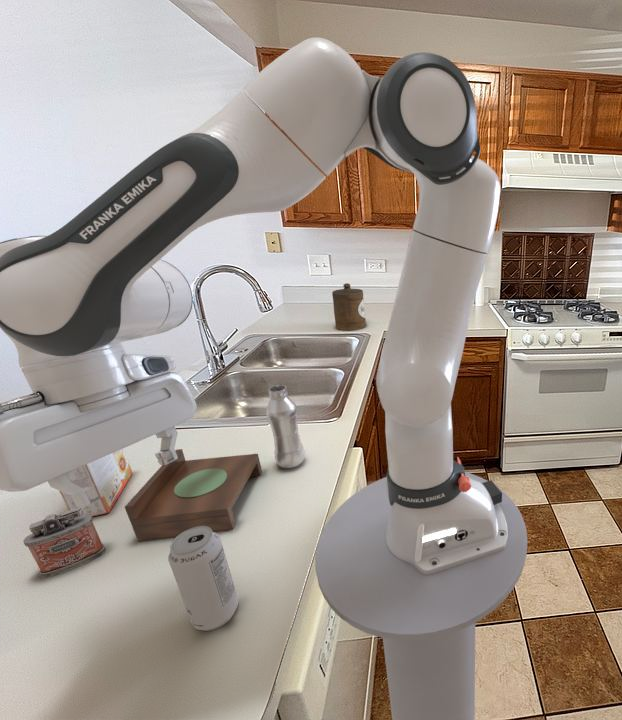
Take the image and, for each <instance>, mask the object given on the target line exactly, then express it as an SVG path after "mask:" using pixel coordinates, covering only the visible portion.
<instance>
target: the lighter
mask: <svg viewBox="0 0 622 720" xmlns="http://www.w3.org/2000/svg"><path fill="white" fill-rule="evenodd" d="M82 515H83V511H82V508H79V507H78V508H75V509H72V510H69V509H68V510H66V511H63V512H61V513H59V514H56V513H51V514H49V515H47V516H45V517H44V519H42V520H39V521H36V522H33V523H31V524H29V525H28V529H29V530H30V534H28V535H27V536H25V538H24V539H23V545H24V546H25V547H26V548H28V550H29V551H30V552H29V553H31V556H32V558H33V559H34V561H35V562H36V565H37V566H38V568H39V574H40V575H41V577H42V578H50V577H53V576H56V575H60V574H63V573H65V572H68V571H71V570H73V569H76V568H78V567H80V566H83V565H85V564H86V563H87V564H88V563H89V562H91V561H94V560H95V559H97V558H100V557H101V556H103V554H105V552H106V551H107V548H106V546H105V544H104V543H102V540H101V538H100V536H99V534H98V532H97V529H96V526H95V525H94V519H93V517H92V516H91V515H83V516H82Z"/></svg>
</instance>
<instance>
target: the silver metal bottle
mask: <svg viewBox="0 0 622 720" xmlns="http://www.w3.org/2000/svg"><path fill="white" fill-rule="evenodd" d="M267 391H268V398H269V399H270V400H269V401H268V403H267V406H266V408H265V416H266V418H267V421H268V423H269V425H270V428H271V432H272V436H273V442H274V461H275V462H276V464H277V466H279V467H280V468H282V469H293V468H295V467H298V466H299V465H301V464H302V463H303V461H304V459H305V457H306V455H305V454H306V450H305V448H304V445H303V443H302V440H301V435H300V433H299V426H298V425H299V424H298V407H297V404H296V403H295V401H294V400H292V399H291V398H290V397H288V396H289V392H288V390H287V386H286V385H283V384H278V385H276V384H275V385H273V386H270V387H269V388H268V389H267Z"/></svg>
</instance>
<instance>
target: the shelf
mask: <svg viewBox="0 0 622 720" xmlns="http://www.w3.org/2000/svg"><path fill="white" fill-rule="evenodd" d="M175 452H176V454H177V456H178V459H177V460H175V461H173V462H171V463H169V464H167V465H161V466H160V467H159V468H158V469H157V470H156V471H155V473H153V474H152V475H151V477H150V478H149V479H148V480H147V481H146V482H145V483H144V484H143V486H142V487H141V488H140V489H139V490H138V491H137V492H136V493H135V495H133V497H132V498H131V499H130V500H129V501H128V502H127V504H125V505H124V509H125V511H126V515H127V517H128V519H129V522H130V524H131V527H132V529H133V532H134V535H135V537H136V540H137V542H144V541H152V540H159V539H167V538H168V539H169V538H176V537H177V536H178V535H179V534H181V533H182V532H184V531H186V530H188V529H191V528H193V527H197V526H207V527H210V528H211V529H212V531H213V532H215V533H217V532H222V531H231V530H234V528H235V526H236V525H237V524H236V520H235V516H234V512H233V508H234V506H235V504H236V502H238V499H239V497H240V495H241V493H242V491H243V490H244V488H245V486H246V484H247V482H248V481H249V479H250V477H257V476H261V475H262V473H263V470H262V465H261V460H260V457H259V453H251V454H240V455H239V454H238V455H230V456H220V457H208V458H199V459H198V458H197V459H189V460H187V459H186V457H185V454H184V451H183V449H182V448H179V449H178V448H177V449H175Z"/></svg>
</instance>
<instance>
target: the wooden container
mask: <svg viewBox="0 0 622 720" xmlns="http://www.w3.org/2000/svg"><path fill="white" fill-rule="evenodd" d="M342 286H343V288H339V289H336V290H335V289H334V290H333V291H332V293H331V295H332V304H333V314H334V322H335V328H336V329H337V330H340V331H349V332H350V331H358V330H361V329H364V328H366V327H367V321H366V309H365V300H364V290H362V289H360V288H351V284H350V283H346V282H345V283H344V284H343V285H342Z"/></svg>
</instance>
